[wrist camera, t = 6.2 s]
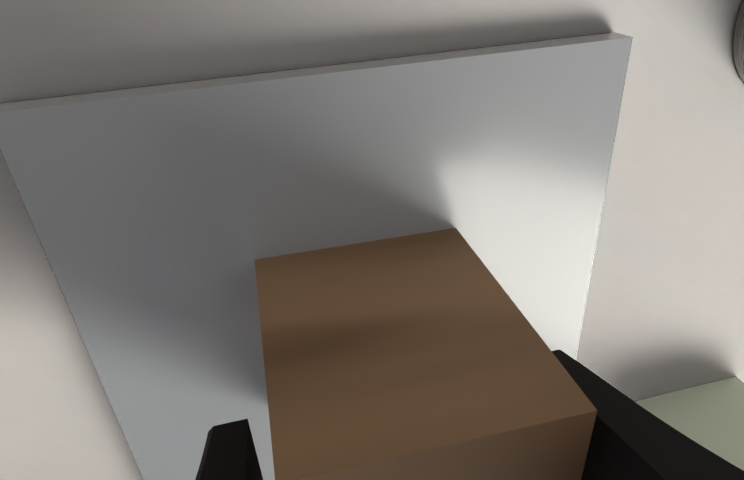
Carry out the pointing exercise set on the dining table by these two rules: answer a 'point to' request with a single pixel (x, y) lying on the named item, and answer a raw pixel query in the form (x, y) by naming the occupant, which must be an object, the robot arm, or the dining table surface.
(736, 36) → the grey cylinder
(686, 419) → the sage box
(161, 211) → the slate tile
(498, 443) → the walnut block
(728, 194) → the dining table surface
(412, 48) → the dining table surface
